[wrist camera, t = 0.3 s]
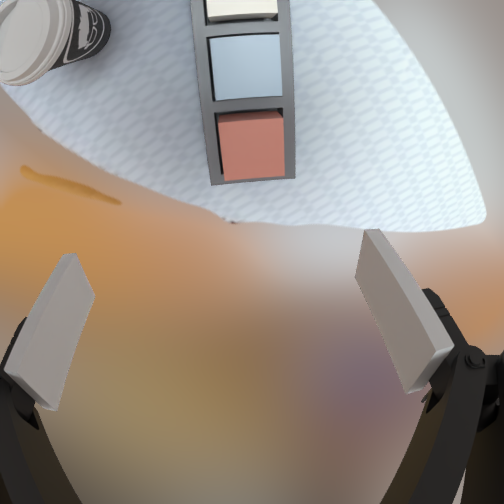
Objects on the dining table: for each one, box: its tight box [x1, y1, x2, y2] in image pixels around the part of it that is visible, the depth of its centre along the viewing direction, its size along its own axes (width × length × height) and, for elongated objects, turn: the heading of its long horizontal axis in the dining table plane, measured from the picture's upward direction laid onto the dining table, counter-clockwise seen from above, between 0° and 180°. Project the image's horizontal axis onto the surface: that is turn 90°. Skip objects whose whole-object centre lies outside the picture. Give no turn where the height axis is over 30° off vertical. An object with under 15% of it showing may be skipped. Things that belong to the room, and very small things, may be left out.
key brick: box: [218, 111, 285, 181], centre depth 29 cm, size 6×6×4 cm
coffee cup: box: [0, 0, 111, 86], centre depth 18 cm, size 10×10×15 cm
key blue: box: [210, 34, 282, 101], centre depth 24 cm, size 6×6×4 cm
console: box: [190, 0, 295, 186], centre depth 27 cm, size 26×9×5 cm, turn 4°
